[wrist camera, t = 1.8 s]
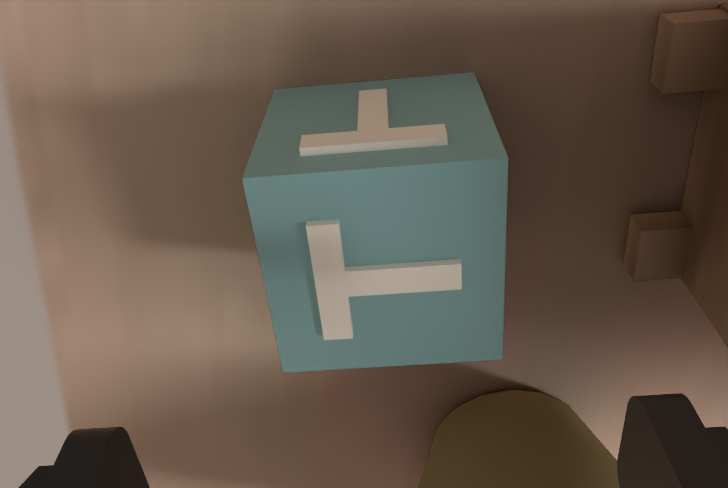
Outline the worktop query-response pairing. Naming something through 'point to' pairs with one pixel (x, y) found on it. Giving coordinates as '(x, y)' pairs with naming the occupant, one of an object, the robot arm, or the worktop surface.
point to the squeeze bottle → (517, 446)
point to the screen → (692, 167)
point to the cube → (381, 223)
